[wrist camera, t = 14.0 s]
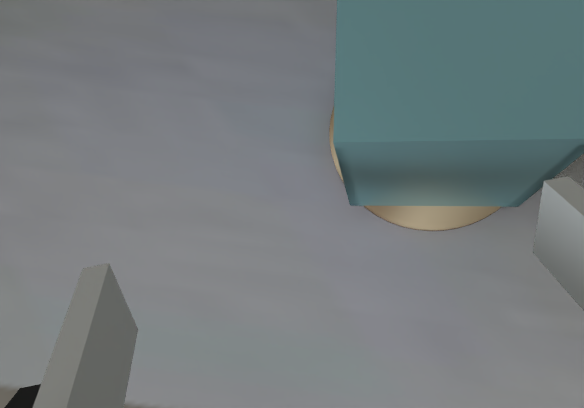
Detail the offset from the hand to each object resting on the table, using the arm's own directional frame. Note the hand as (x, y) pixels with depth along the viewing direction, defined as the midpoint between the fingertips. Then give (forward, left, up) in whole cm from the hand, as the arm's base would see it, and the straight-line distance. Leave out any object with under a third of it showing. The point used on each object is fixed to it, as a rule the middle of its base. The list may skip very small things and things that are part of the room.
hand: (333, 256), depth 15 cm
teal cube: (0, +9, -11) cm, 14 cm away
